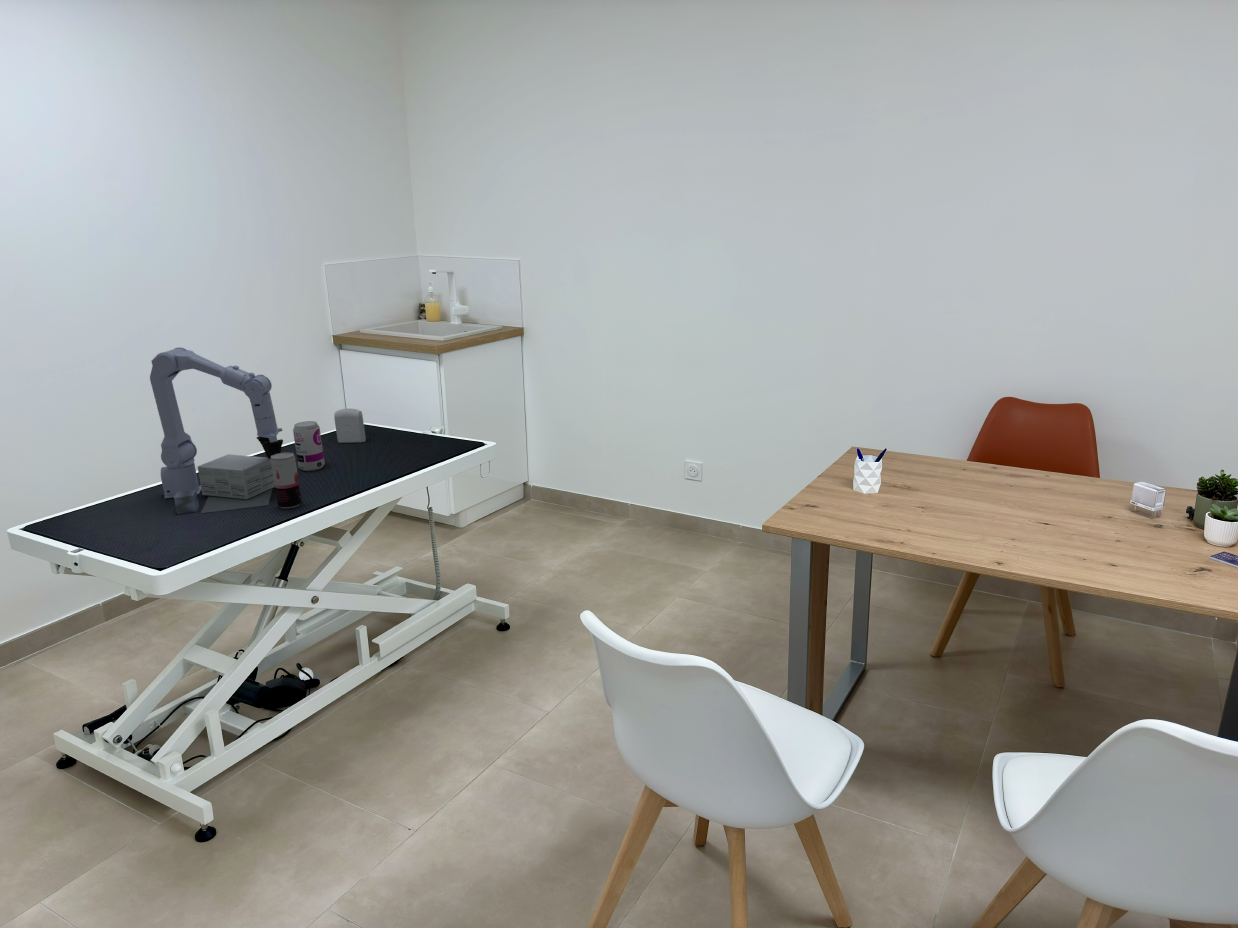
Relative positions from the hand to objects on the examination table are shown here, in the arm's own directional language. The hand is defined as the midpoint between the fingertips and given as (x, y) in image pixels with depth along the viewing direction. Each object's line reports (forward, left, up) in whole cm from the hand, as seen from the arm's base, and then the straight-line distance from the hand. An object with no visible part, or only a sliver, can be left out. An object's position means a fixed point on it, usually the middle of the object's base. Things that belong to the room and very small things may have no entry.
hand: (274, 460), depth 253 cm
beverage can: (+4, -14, -10) cm, 18 cm away
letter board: (-11, -1, -10) cm, 15 cm away
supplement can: (+9, +22, -10) cm, 26 cm away
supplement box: (-11, +4, -10) cm, 16 cm away
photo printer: (+22, +50, -10) cm, 55 cm away
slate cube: (-24, -7, -10) cm, 27 cm away
